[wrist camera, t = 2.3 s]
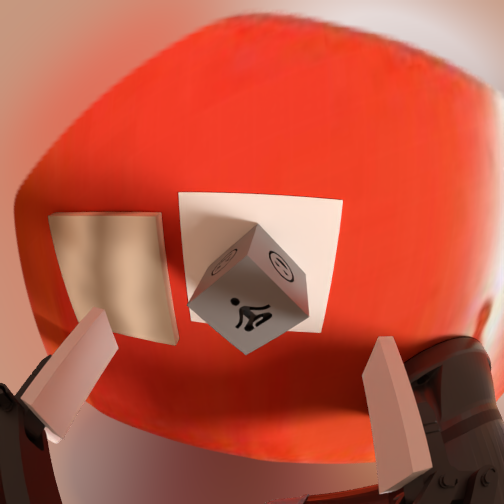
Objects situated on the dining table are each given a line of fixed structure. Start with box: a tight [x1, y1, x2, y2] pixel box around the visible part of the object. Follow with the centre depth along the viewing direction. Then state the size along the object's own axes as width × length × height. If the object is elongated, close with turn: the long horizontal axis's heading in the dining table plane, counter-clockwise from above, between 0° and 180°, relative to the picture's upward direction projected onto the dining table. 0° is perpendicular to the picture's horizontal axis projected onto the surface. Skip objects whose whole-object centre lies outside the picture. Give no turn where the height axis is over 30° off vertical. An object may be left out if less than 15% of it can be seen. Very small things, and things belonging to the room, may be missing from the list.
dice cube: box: [187, 224, 309, 355], centre depth 17 cm, size 5×5×5 cm
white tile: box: [178, 192, 343, 333], centre depth 20 cm, size 11×11×1 cm
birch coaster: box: [48, 212, 179, 346], centre depth 21 cm, size 12×12×1 cm
